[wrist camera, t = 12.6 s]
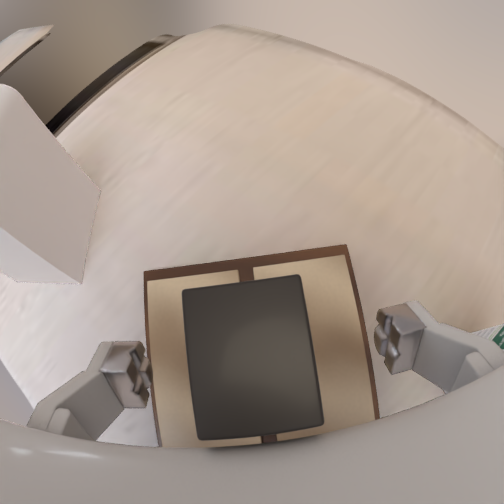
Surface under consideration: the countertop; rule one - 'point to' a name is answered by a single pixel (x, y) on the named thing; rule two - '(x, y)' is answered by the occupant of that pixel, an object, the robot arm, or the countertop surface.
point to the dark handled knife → (251, 359)
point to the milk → (40, 200)
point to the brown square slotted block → (322, 329)
